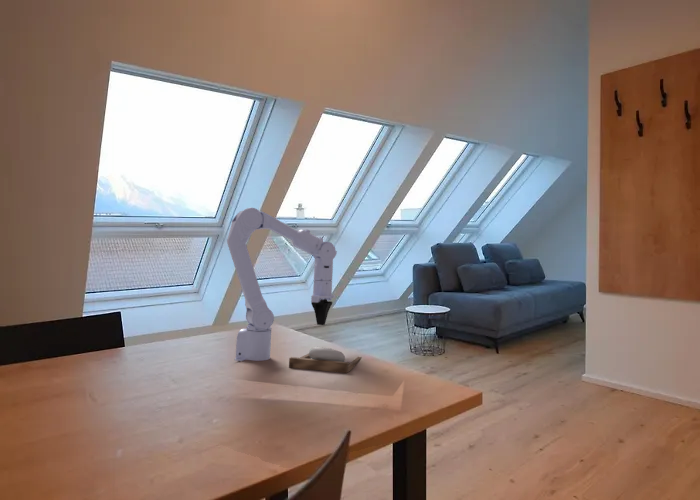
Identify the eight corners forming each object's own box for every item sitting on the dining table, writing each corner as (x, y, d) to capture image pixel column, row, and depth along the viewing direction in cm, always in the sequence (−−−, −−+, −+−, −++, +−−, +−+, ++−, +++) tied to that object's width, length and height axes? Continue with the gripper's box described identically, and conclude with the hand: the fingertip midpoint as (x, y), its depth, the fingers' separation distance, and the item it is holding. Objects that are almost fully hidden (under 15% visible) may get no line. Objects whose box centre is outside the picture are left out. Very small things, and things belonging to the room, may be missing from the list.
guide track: (288, 367, 127) (289, 357, 127) (311, 356, 145) (311, 347, 145) (346, 373, 123) (346, 363, 123) (362, 360, 141) (362, 352, 141)
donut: (345, 354, 136) (346, 351, 126) (343, 366, 135) (344, 364, 125) (310, 347, 136) (309, 344, 126) (308, 359, 135) (307, 357, 125)
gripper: (328, 281, 139) (326, 328, 138) (341, 280, 153) (339, 323, 152) (305, 280, 141) (303, 326, 140) (320, 279, 155) (319, 321, 154)
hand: (321, 324), depth 146 cm, fingers closed
